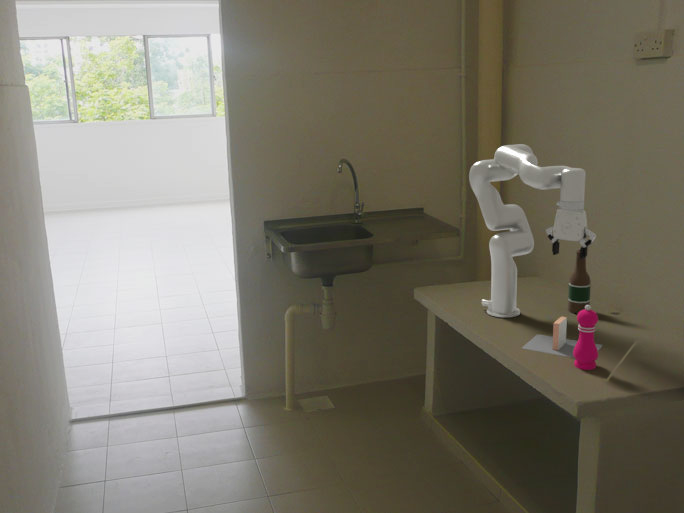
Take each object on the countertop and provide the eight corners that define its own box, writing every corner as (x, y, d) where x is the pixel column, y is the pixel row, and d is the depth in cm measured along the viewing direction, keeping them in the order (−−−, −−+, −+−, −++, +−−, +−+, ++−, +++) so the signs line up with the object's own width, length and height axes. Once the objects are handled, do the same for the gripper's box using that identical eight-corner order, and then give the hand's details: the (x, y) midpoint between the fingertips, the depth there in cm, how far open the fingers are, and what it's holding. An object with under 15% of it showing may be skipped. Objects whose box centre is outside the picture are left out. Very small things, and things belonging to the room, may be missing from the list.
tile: (552, 349, 226) (553, 323, 224) (560, 342, 232) (561, 316, 230) (558, 350, 225) (559, 324, 223) (565, 343, 231) (567, 317, 229)
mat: (521, 349, 228) (521, 348, 227) (537, 335, 240) (537, 334, 240) (589, 362, 215) (589, 360, 215) (602, 346, 228) (602, 345, 228)
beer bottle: (589, 309, 269) (592, 248, 263) (589, 315, 261) (592, 253, 256) (568, 307, 271) (570, 248, 266) (567, 313, 264) (570, 252, 259)
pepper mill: (568, 363, 215) (571, 302, 210) (591, 362, 215) (594, 300, 211) (578, 372, 208) (581, 309, 203) (601, 371, 208) (605, 307, 204)
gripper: (542, 205, 231) (540, 254, 235) (592, 209, 220) (589, 262, 224) (553, 202, 237) (550, 250, 241) (602, 206, 225) (599, 257, 229)
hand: (569, 256), depth 232 cm, fingers open, 9 cm apart
